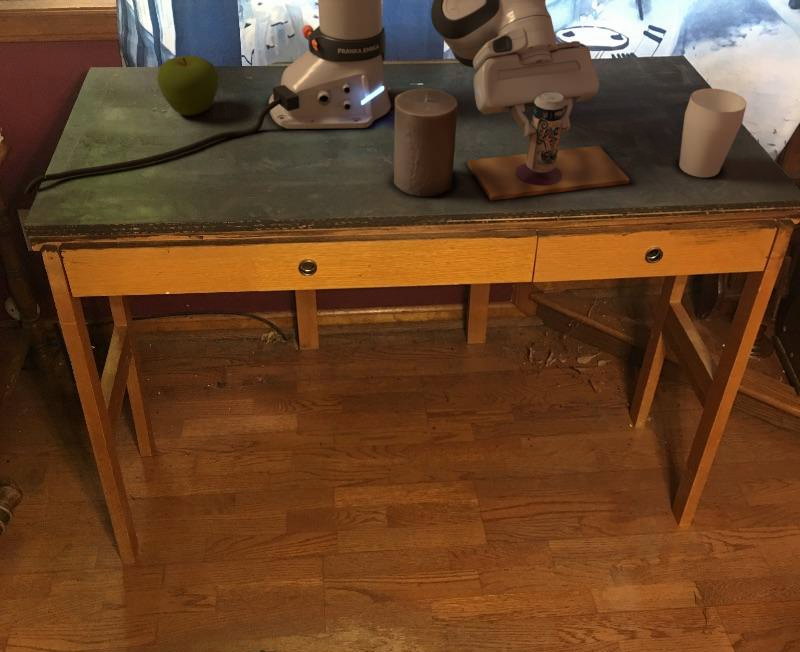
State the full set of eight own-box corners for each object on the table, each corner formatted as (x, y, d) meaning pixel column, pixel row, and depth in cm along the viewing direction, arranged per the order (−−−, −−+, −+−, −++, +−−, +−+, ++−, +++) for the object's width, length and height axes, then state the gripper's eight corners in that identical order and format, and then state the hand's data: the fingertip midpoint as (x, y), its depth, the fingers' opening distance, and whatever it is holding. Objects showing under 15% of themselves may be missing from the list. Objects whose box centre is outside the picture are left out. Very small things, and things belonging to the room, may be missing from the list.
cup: (728, 184, 141) (750, 115, 133) (672, 178, 143) (690, 109, 134) (724, 158, 148) (745, 91, 140) (671, 152, 149) (688, 85, 141)
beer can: (536, 177, 138) (546, 105, 130) (520, 163, 141) (529, 93, 133) (560, 170, 140) (572, 99, 132) (544, 157, 143) (554, 87, 135)
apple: (196, 130, 152) (187, 75, 145) (150, 116, 155) (140, 61, 148) (234, 107, 159) (227, 53, 152) (189, 94, 162) (181, 41, 155)
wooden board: (490, 200, 136) (491, 195, 136) (467, 164, 145) (467, 159, 144) (628, 183, 141) (629, 178, 140) (598, 149, 149) (599, 144, 149)
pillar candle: (456, 171, 143) (463, 83, 132) (446, 201, 136) (452, 110, 126) (399, 164, 144) (401, 76, 134) (387, 193, 137) (388, 103, 127)
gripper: (577, 48, 141) (596, 130, 141) (462, 62, 136) (481, 148, 136) (595, 30, 135) (614, 116, 135) (476, 45, 130) (495, 134, 130)
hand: (547, 132), depth 136 cm, fingers closed on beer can, 5 cm apart
